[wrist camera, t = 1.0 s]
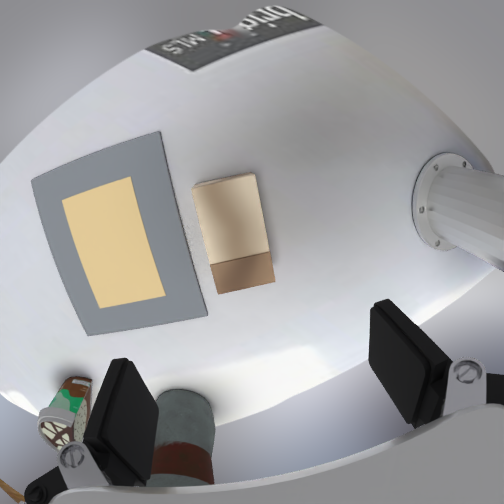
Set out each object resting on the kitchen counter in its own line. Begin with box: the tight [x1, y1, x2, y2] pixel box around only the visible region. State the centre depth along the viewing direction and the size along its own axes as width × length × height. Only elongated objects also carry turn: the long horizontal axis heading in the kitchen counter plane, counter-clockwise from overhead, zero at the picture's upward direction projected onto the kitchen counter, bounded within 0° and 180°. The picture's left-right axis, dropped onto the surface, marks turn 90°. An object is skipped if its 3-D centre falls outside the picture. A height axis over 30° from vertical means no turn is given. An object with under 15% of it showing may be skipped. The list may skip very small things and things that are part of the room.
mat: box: [31, 131, 208, 336], centre depth 28 cm, size 16×20×1 cm
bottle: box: [139, 390, 215, 487], centre depth 23 cm, size 9×9×30 cm
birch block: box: [191, 172, 275, 294], centre depth 28 cm, size 6×10×4 cm, turn 11°
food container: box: [37, 376, 92, 453], centre depth 30 cm, size 12×6×10 cm, turn 158°
